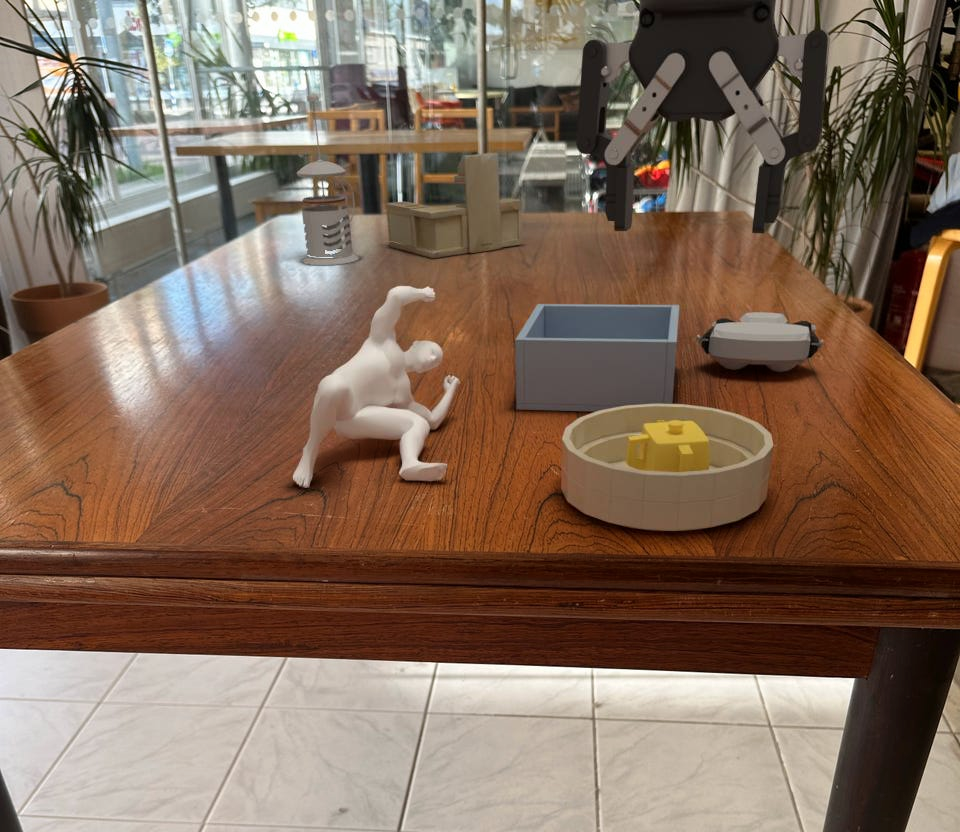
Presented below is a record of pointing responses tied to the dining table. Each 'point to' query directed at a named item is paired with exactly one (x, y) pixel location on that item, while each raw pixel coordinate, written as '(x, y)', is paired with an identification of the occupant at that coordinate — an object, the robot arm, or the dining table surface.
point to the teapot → (669, 447)
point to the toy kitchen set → (460, 216)
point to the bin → (596, 356)
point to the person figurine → (381, 394)
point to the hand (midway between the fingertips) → (689, 230)
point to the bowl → (665, 495)
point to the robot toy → (760, 341)
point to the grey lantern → (326, 215)
